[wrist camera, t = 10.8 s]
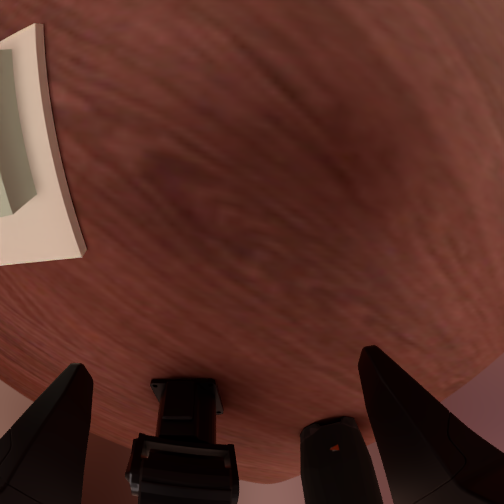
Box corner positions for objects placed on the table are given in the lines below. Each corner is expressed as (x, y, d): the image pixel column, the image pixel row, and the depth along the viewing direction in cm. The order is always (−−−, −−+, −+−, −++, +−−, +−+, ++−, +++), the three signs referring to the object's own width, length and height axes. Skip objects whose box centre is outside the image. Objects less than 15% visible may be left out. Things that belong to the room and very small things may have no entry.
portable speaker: (306, 415, 33) (332, 566, 17) (372, 411, 35) (410, 542, 18) (286, 443, 38) (303, 568, 21) (345, 439, 39) (371, 553, 22)
